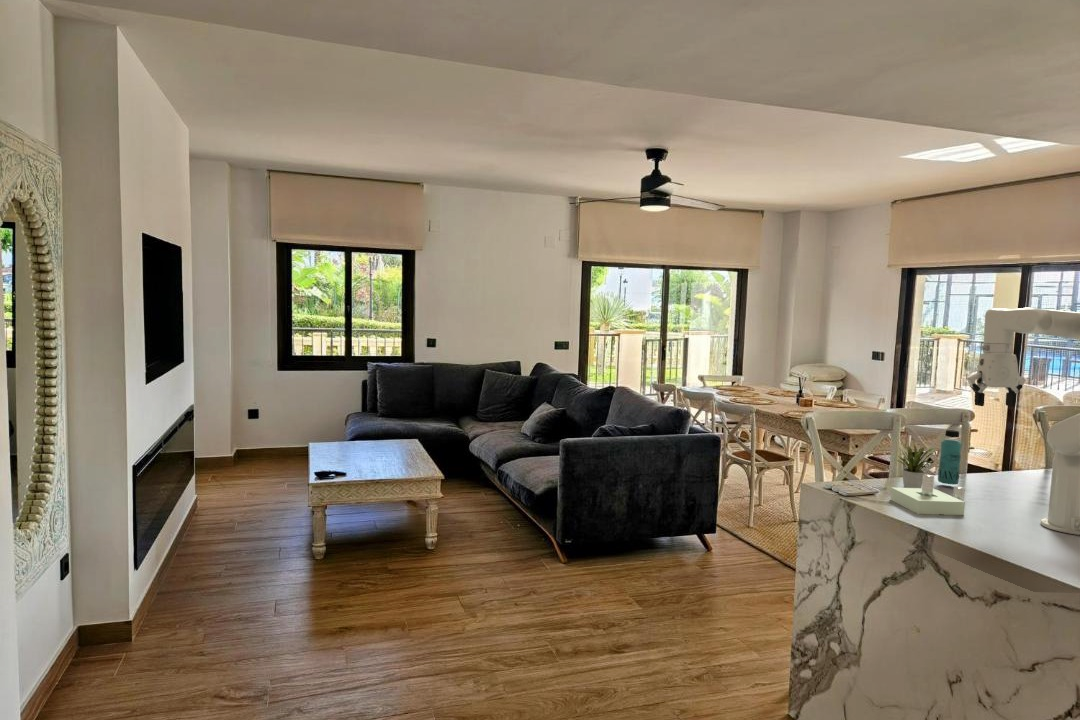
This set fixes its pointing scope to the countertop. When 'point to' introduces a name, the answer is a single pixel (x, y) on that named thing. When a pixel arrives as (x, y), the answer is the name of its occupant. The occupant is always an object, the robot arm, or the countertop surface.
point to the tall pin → (927, 485)
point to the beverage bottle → (950, 459)
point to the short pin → (959, 493)
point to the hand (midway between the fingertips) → (994, 405)
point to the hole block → (927, 501)
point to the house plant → (914, 467)
